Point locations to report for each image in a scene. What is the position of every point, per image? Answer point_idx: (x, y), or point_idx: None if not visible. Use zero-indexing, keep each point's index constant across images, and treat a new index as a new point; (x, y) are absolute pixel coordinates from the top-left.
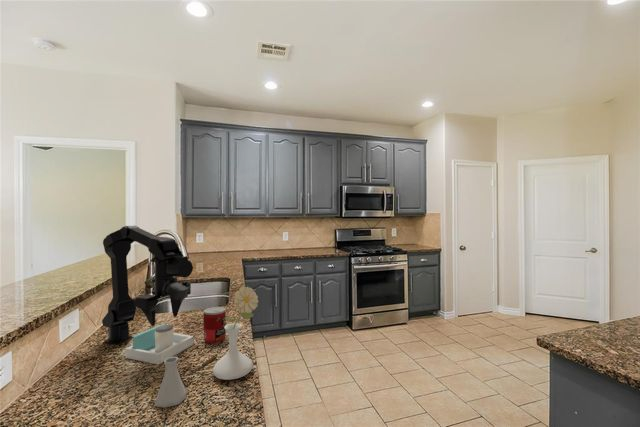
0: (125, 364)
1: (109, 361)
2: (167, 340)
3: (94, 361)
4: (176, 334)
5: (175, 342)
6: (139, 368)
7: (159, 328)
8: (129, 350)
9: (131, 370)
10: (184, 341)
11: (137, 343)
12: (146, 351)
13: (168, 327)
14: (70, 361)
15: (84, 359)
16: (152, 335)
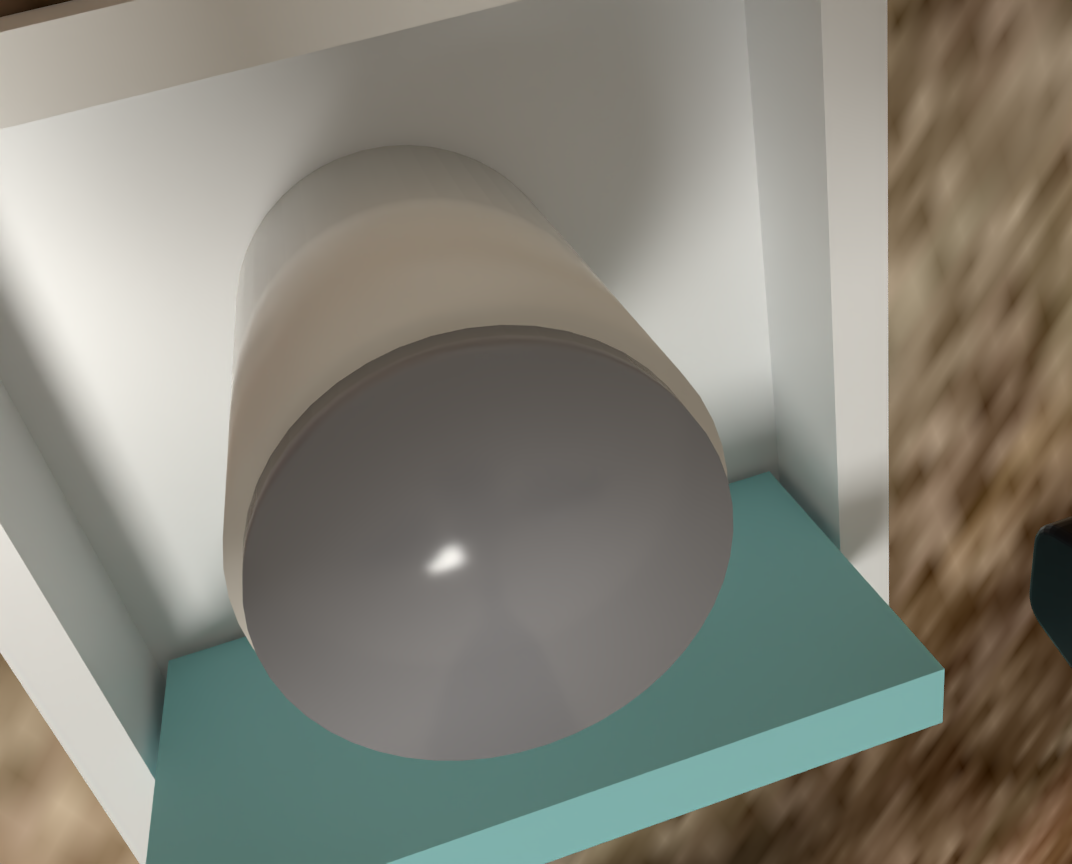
0: (945, 343)
1: (945, 581)
2: (478, 219)
3: (990, 692)
4: (10, 589)
5: (82, 465)
6: (978, 16)
7: (616, 606)
8: (878, 546)
9: (1054, 65)
10: (42, 22)
11: (827, 583)
12: (854, 242)
13: (419, 493)
14: (1047, 831)
15: (985, 797)
16: None
